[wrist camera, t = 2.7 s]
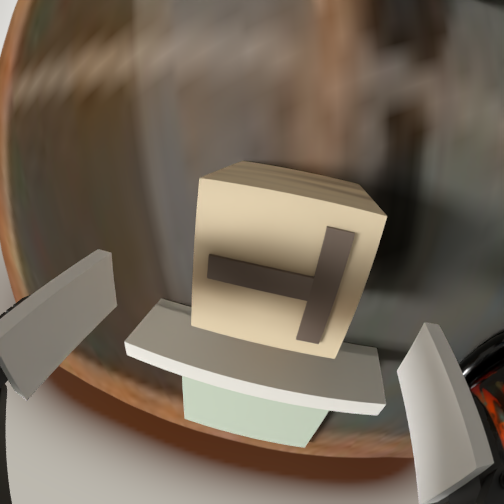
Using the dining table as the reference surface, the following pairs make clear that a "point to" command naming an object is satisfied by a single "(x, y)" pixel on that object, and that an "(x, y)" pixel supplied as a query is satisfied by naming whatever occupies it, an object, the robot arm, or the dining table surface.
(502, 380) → the amphora vase
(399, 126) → the dining table surface
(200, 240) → the maple cube
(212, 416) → the display pad
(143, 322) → the white slab
